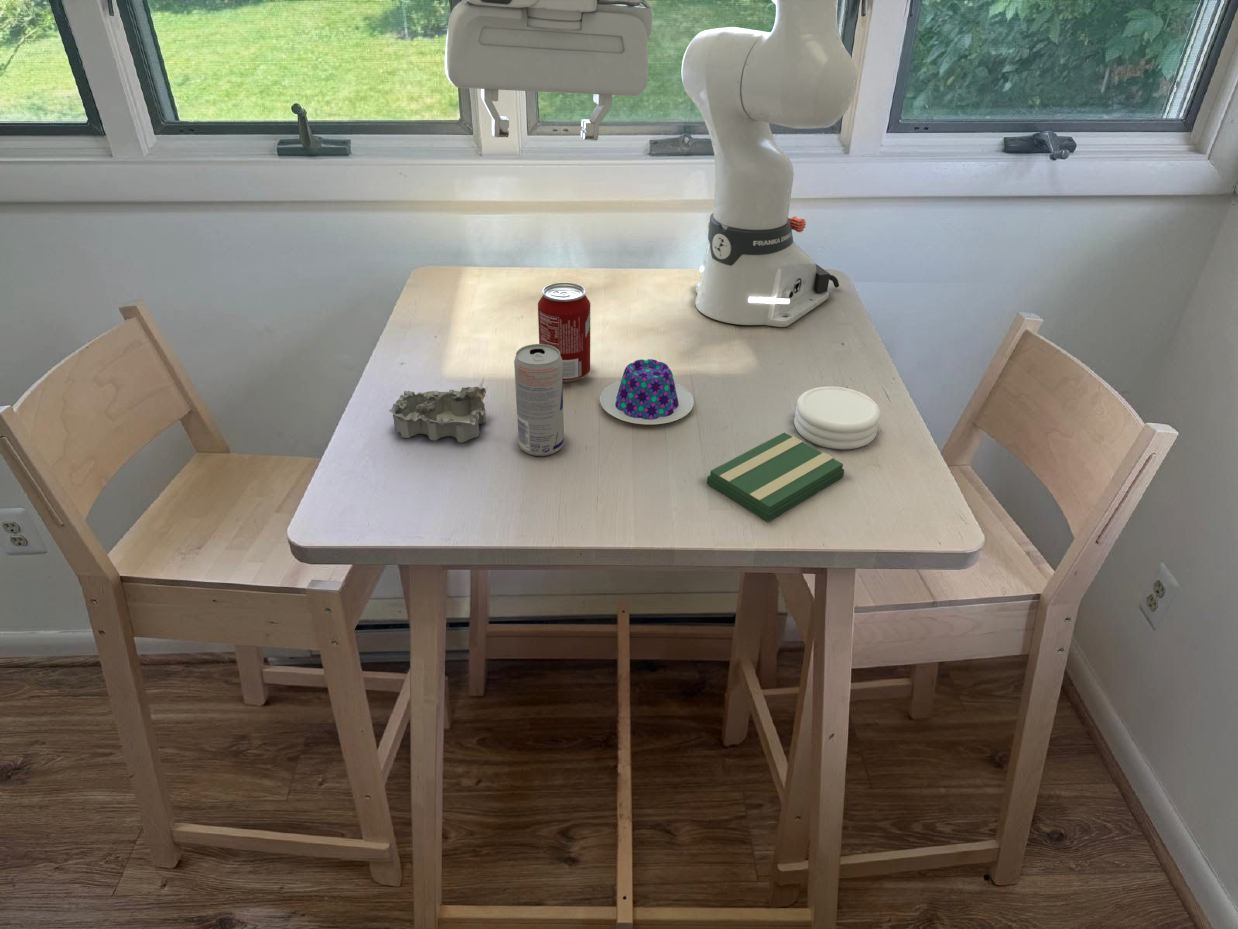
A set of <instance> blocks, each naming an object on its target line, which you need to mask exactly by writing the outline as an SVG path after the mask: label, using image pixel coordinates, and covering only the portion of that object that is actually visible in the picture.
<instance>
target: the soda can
mask: <svg viewBox="0 0 1238 929" xmlns="http://www.w3.org/2000/svg"><path fill="white" fill-rule="evenodd" d="M541 292H542V293H541V294H542V296H541V297H540V298H539V300H538V301H537V318H538V319H537V322H538V344H546V345H550V346H553V347H555V348H557V349H558V350H559V351H560V355H561V358H562V368H563V384H564V383H567V384H569V383H573V382H577V381H580V380H581V379H584V378H585V377H587V376H588V375H589V374H590V372H591V301H590V300H589V298H588V296H587V295H586V288H584V286H582V285H580V284H578V283H575V282H566V281H565V282H563V281H560V282H553V283H550V284H547V285H546V286H544V287H543V288H542V291H541Z"/></svg>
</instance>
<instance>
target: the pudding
mask: <svg viewBox="0 0 1238 929" xmlns="http://www.w3.org/2000/svg"><path fill="white" fill-rule="evenodd" d="M599 403H600V406H601V407H602V409H603V410H604V411H605V412H606V413H607V414H609V415H611V416H612V417H614V418H616V419H618V420H621V421H623V422H627V423H631V424H635V425H636V424H638V425H661V424H662V425H663V424H667V423H668V424H669V423H672V422H675V421H678V420H680V419H683V418H684V417H685V416H687V415H688V414H689V413H690V412H691V411H692V410H693V408H694V404H695V399H694V397H693V395H692V393H691V392H690V391H689V390H688V389H687V388H686V387H684V386H683V385H681V384H679V383H677V382H675V379H674V373H673V371H672V369H671V368H670V367H669V365H668V364H667V363H665V362H663V361H658V360H657V359H654V358H648V359H644V358H643V359H642V358H641V359H636V360H634V362H630V363H629V364H626V367H625V368H624V371H623V373H622V377H621V379H619V380H617V381H615V382H612V383H611V384H609V385H607V386H606V387H605V388H604V389H603V390H602V391H601V392H600V396H599Z"/></svg>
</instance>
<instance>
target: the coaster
mask: <svg viewBox="0 0 1238 929" xmlns="http://www.w3.org/2000/svg"><path fill="white" fill-rule="evenodd" d="M794 413H795V415H794V418H793V423H794V427H795V430H796V431H797V433H798V434H799V435H800V436H802V437H803V439H805V440H806V441H808V442H810V443H812V444H814V445H817V446H819V447H823V448H827V449H832V450H853V449H860V448H862V447H865V446H867V445H869V444H870V443H872V442H873V441H874V439H875V438H876V436H877V434H878V429H879V425H880V422H879V421H880V420H881V409H880V407H879V405H878V403H876V402H875V400H873V399H872V398H871V397H869V396H868V395H866V394H864V393H863V392H860V391H858V390H855V389H851V388H847V387H842V386H830V385H829V386H819V387H814V388H811V389H809V390H806V391H805V392H803V393H802V394H800V396H799V397H798V399H797V400H796V408H795V412H794Z"/></svg>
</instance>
